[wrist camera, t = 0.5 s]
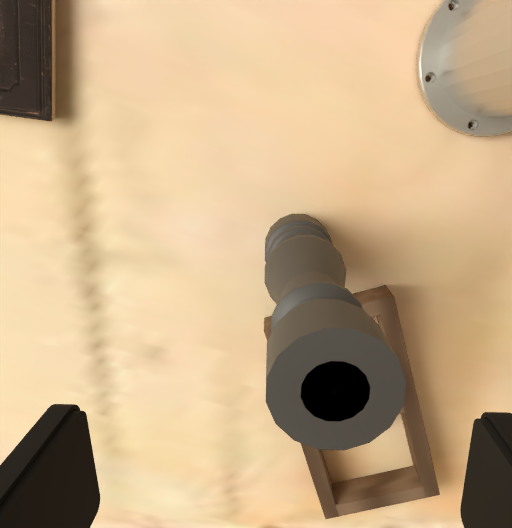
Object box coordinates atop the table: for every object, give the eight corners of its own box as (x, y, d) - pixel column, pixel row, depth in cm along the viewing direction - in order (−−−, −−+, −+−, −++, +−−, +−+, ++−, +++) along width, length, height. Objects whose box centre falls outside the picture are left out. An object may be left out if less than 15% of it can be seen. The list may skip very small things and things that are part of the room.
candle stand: (385, 285, 42) (410, 317, 34) (429, 473, 48) (460, 536, 40) (264, 317, 43) (263, 356, 36) (322, 497, 49) (332, 562, 42)
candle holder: (259, 219, 41) (245, 334, 17) (324, 208, 40) (406, 309, 16) (270, 280, 42) (272, 464, 18) (333, 270, 42) (419, 445, 18)
